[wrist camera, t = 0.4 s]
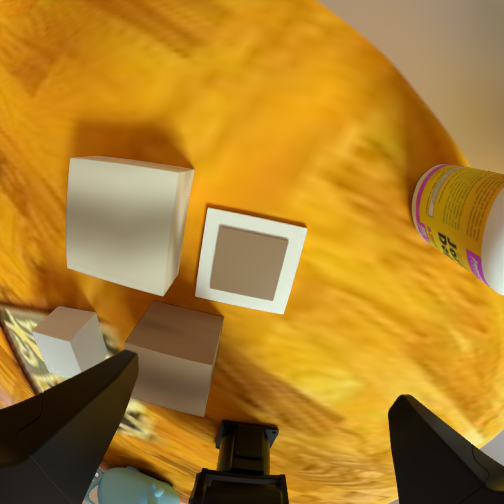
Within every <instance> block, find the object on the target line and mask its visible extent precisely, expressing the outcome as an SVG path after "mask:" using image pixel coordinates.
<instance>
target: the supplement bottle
mask: <svg viewBox="0 0 504 504" xmlns="http://www.w3.org/2000/svg"><path fill="white" fill-rule="evenodd" d="M412 217H413V222H414V225H415V227H416V230H417V231H418V233H419V235H420V236H421V237H422V238H423V239H424V240H425V241H426V242H427V243H429V244H430V245H432V246H433V247H435V248H436V249H437V250H439V251H440V252H442V253H443V254H445V255H446V256H448V257H449V258H451V259H452V260H453V261H455V262H457V263H458V264H459V265H461V266H462V267H464V268H465V269H466V270H468V271H469V272H471V273H472V274H473V275H475V276H476V277H478V278H479V279H480V280H482V281H483V282H484V283H485V284H487V285H488V286H489V287H491V288H492V289H493V290H495V291H496V292H497V293H499V294H501V295H504V175H503V174H500V173H495V172H490V171H485V170H480V169H474V168H469V167H464V166H458V165H451V164H440V165H436V166H434V167H432V168H430V169H429V170H428V171H426V172H425V173H424V174H423V176H422V177H421V178H420V180H419V181H418V183H417V185H416V188H415V191H414V194H413V199H412Z"/></svg>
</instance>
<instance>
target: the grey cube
mask: <svg viewBox="0 0 504 504" xmlns="http://www.w3.org/2000/svg"><path fill="white" fill-rule="evenodd" d="M32 333H33V336H34V338H35V341H36V343H37V346H38V348H39V350H40V353H41V355H42V357H43V360H44V362H45V364H46V366H47V368H48V370H49V372H50V373H53V374H56V375H59V376H62V377H65V378H68V379H69V378H71V377H73V376H75V375H77V374H79V373H81V372H83V371H85V370H87V369H89V368H91V367H93V366H95V365H97V364H98V363H100V362H102V361H103V360H104V358H105V357H106V355H107V354H108V352H107V349H106V346H105V343H104V339H103V336H102V333H101V329H100V326H99V322H98V318H97V314H96V312H90V311H84V310H79V309H73V308H68V307H62V306H58V307H57V308H56V309H55V310H54V311H53V312H51V313H50V314H49V315H48V316H47V317H46V318H45V319H44V320H43V321H42V322H41V323H40V324H38V325H37V326H36V327H35V328H34V329H33V330H32Z"/></svg>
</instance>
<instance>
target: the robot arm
mask: <svg viewBox="0 0 504 504" xmlns="http://www.w3.org/2000/svg"><path fill="white" fill-rule="evenodd" d="M138 374H139V361H138V354H137V353H136V352H133V351H130V350H123V351H121V352H119V353H117V354H116V355H114V356H112V357H110V358H108V359H106V360H104V361H102V362H100V363H98V364H97V365H95V366H93V367H91V368H89V369H87V370H85V371H83V372H81V373H79V374H77V375H75V376H73V377H71V378H69V379H67V380H65V381H63V382H61V383H59V384H57V385H55V386H53V387H51V388H49V389H47V390H45V391H44V392H43V393H42V392H41V393H39V394H37V395H35V396H33V397H31V398H29V399H26V400H24V401H22V402H20V403H17V404H14V405H12V406H9V407H6V408H3V409H0V504H82V502H83V500H84V498H85V496H86V493H87V491H88V489H89V487H90V485H91V483H92V480H93V478H94V476H95V474H96V472H97V470H98V468H99V465H100V463H101V461H102V459H103V457H104V455H105V453H106V451H107V449H108V447H109V445H110V443H111V441H112V439H113V436H114V434H115V432H116V430H117V428H118V426H119V424H120V422H121V420H122V418H123V416H124V414H125V411H126V408H127V406H128V403H129V400H130V397H131V394H132V392H133V389H134V386H135V383H136V381H137V378H138ZM388 420H389V430H390V442H391V451H392V457H393V463H394V469H395V475H396V482H397V489H398V497H399V504H504V466H503V465H501V464H499V463H498V462H496V461H495V460H493V459H492V458H490V457H489V456H487V455H486V454H484V453H483V452H482V451H480V450H479V449H478V448H477V447H475V446H474V445H473V444H471V443H470V442H469V441H468V440H466V439H465V438H464V437H463V436H461V435H460V434H459V433H458V432H456V431H455V430H454V429H452V428H451V427H450V426H449V425H447V424H446V423H445V422H444V421H442V420H441V419H440V418H439V417H437V416H436V415H435V414H434V413H432V412H431V411H430V410H429V409H427V408H426V407H425V406H424V405H422V404H421V403H420V402H419V401H418V400H416V399H415V398H414V397H413V396H411V395H408V394H407V395H400V396H399V397H398V398H397V399H396V401H395V402H394V404H393V405H392V406H391V408H390V409H389V412H388ZM278 433H279V429H278V428H275V427H266V426H258V425H250V424H243V423H237V422H231V421H222V422H221V426H220V430H219V434H218V438H217V442H216V448H217V449H220V450H219V457H218V464H217V470H209V469H207V468H202V472H200V473H197V475H196V480H195V484H194V488H193V490H192V493H191V495H190V498H189V504H289V500H288V492H287V485H286V478H285V474H280V475H270V448H271V446H272V444H273V442H274V440H275V439H276V437H277V435H278Z"/></svg>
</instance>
